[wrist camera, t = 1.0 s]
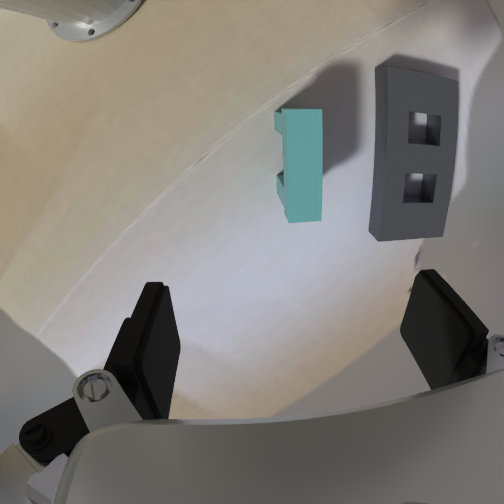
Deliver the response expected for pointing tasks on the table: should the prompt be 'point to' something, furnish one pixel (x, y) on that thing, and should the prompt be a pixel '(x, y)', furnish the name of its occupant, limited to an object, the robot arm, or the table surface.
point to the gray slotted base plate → (412, 154)
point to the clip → (301, 163)
